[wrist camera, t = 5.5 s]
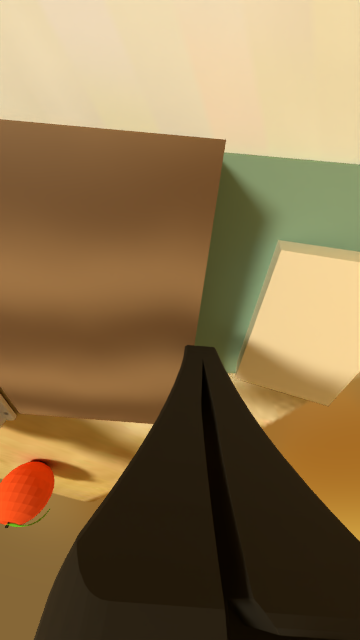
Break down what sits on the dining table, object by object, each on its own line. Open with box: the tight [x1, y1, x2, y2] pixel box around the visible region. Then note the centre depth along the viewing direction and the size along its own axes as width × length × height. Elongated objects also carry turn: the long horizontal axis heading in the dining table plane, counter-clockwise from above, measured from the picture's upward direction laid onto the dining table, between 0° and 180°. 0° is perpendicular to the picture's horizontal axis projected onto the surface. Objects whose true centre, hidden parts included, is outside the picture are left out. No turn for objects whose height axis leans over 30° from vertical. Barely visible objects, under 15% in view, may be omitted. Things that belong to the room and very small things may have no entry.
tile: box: [235, 240, 360, 406], centre depth 12 cm, size 9×6×2 cm, turn 176°
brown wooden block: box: [0, 119, 226, 424], centre depth 12 cm, size 16×12×4 cm
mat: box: [194, 153, 360, 373], centre depth 13 cm, size 14×11×1 cm
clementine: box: [0, 461, 54, 528], centre depth 29 cm, size 8×7×7 cm
